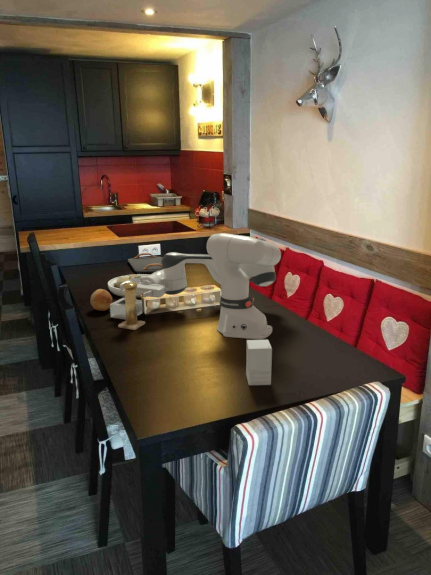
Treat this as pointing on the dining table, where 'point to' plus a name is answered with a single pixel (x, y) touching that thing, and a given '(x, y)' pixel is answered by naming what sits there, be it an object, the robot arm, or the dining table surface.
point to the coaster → (133, 327)
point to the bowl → (115, 283)
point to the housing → (123, 308)
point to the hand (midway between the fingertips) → (133, 294)
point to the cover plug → (130, 302)
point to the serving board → (146, 263)
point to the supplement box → (258, 362)
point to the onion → (101, 300)
